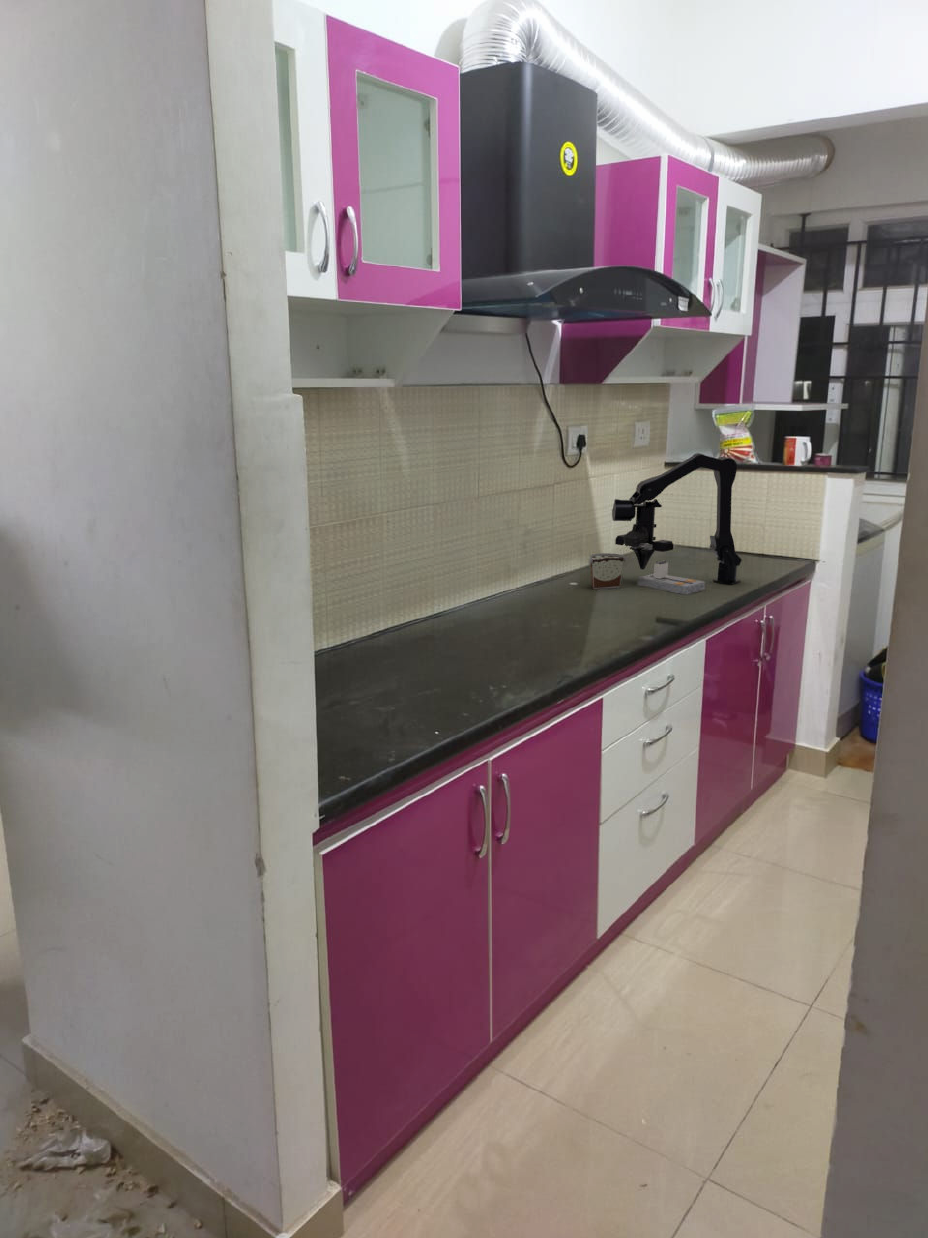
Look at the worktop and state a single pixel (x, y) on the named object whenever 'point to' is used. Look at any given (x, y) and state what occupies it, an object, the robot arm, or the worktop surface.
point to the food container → (606, 570)
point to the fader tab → (660, 569)
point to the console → (672, 584)
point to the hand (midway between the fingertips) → (642, 569)
